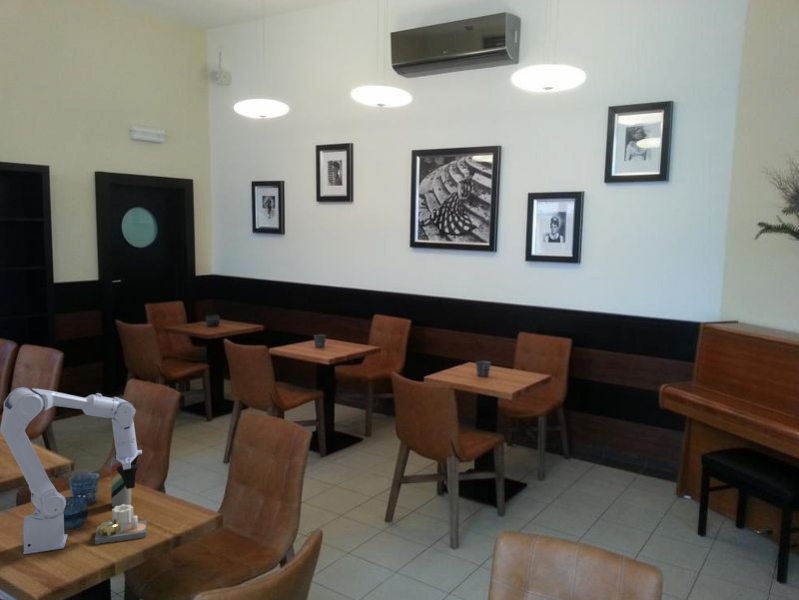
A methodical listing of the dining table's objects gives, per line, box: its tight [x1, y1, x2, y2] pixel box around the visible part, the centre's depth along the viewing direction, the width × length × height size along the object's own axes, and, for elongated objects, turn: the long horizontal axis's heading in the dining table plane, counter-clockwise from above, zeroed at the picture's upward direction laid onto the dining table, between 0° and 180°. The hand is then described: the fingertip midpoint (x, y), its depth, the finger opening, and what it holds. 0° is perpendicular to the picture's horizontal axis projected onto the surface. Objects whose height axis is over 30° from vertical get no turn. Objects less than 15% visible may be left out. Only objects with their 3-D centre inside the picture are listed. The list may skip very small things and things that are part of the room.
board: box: [94, 514, 147, 545], centre depth 171 cm, size 13×8×5 cm, turn 112°
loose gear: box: [111, 503, 134, 524], centre depth 180 cm, size 6×6×4 cm
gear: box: [97, 519, 121, 536], centre depth 170 cm, size 6×6×3 cm
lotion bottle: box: [110, 444, 132, 508], centre depth 191 cm, size 6×6×20 cm
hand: (131, 482), depth 179 cm, fingers open, 7 cm apart
